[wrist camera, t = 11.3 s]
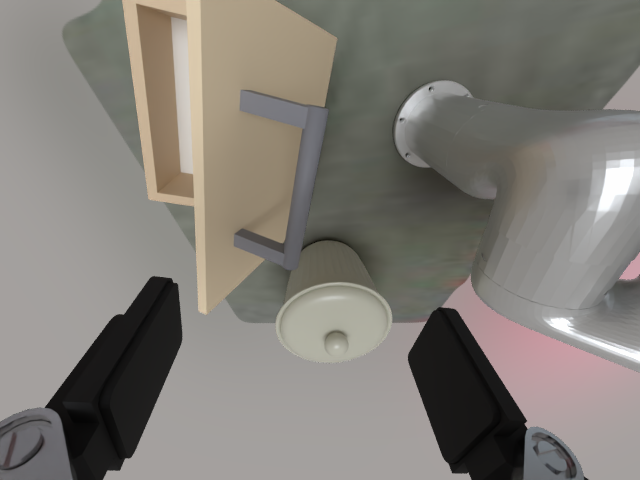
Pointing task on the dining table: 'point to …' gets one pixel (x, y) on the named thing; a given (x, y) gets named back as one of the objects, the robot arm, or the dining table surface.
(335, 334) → the canister
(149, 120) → the carton
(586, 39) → the dining table surface
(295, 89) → the carton lid
